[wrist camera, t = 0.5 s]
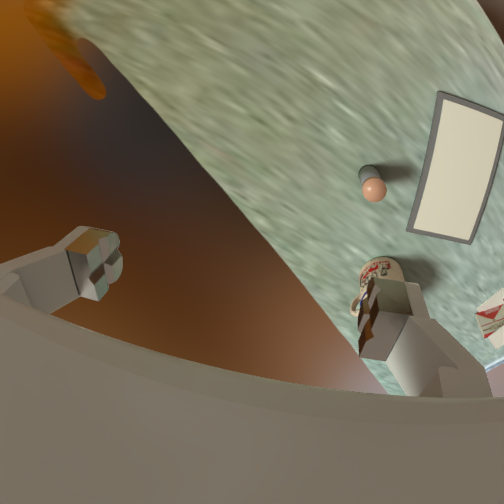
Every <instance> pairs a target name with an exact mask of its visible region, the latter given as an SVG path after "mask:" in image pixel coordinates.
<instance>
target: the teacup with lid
mask: <svg viewBox="0 0 504 504" xmlns="http://www.w3.org/2000/svg"><path fill="white" fill-rule="evenodd" d="M371 277H374V278H381V279H388V280H395V281H403V282H405V280H404V276H403V273H402V269H401V267H400V265H399V264H398V263H397V262H396V261H395V260H393V259H391V258H388V257H378V258H374V259H372V260H370V261H368V262H367V263H366V264H365V265H364V266H363V267H362V269H361V271H360V274H359V283H360V294H359V295H358V296H356V297H355V298H354V300H353V301H352V303H351V306H350V313H351V314H352V315H353V316H358V315H359V310H360V309H359V310H356V311H355V309H356V306H357V304H358V303H359V302H360V301H361V302H360V306H361V303H362V300H363V299H364V298H366V297H367V285H368V283H369V280H370V279H371Z"/></svg>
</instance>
